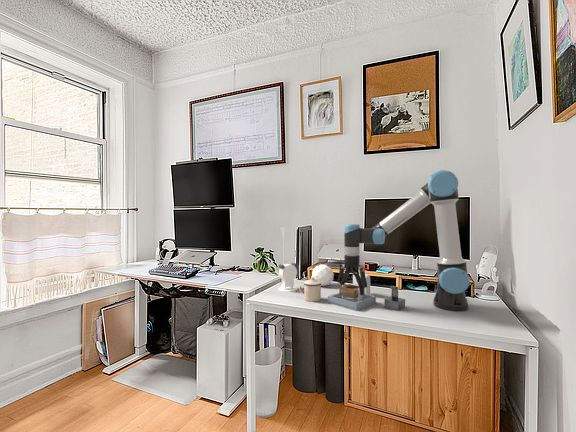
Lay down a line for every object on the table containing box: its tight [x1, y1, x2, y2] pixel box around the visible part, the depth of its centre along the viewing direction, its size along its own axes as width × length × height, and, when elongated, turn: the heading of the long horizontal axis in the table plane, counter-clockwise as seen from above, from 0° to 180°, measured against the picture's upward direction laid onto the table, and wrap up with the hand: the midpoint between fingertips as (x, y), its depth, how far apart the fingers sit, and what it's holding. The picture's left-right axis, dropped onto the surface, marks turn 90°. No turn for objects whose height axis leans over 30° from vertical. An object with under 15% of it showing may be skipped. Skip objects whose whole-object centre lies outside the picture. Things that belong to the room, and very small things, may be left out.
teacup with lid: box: [298, 276, 322, 303], centre depth 167 cm, size 12×9×12 cm
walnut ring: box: [338, 283, 365, 299], centre depth 160 cm, size 10×9×4 cm
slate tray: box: [327, 292, 377, 312], centre depth 159 cm, size 17×17×4 cm
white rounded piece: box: [277, 262, 298, 293], centre depth 187 cm, size 12×11×15 cm
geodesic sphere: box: [311, 263, 335, 287], centre depth 195 cm, size 14×14×14 cm
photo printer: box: [352, 271, 371, 295], centre depth 175 cm, size 10×4×12 cm, turn 39°
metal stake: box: [384, 285, 406, 311], centre depth 152 cm, size 7×7×10 cm
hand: (351, 299), depth 159 cm, fingers closed on walnut ring, 9 cm apart
